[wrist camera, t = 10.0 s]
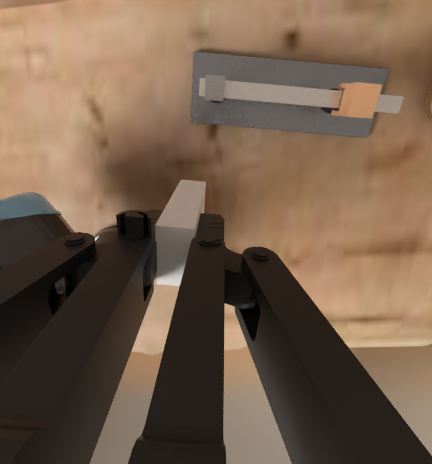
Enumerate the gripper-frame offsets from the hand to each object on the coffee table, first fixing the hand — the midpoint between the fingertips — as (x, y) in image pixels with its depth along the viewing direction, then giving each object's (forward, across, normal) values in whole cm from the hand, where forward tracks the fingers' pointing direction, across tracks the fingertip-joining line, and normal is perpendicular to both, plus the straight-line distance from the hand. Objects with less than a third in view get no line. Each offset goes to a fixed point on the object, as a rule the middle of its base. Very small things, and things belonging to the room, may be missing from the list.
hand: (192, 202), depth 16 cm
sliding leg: (+33, +18, +7) cm, 38 cm away
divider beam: (+33, +11, +7) cm, 36 cm away
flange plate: (+34, +11, +7) cm, 37 cm away
